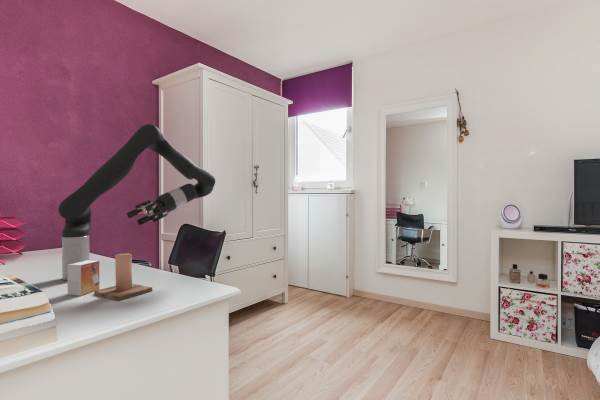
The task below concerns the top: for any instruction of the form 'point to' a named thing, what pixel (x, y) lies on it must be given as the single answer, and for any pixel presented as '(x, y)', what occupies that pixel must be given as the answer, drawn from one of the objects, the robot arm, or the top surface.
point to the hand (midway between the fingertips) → (132, 219)
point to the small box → (83, 277)
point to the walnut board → (122, 292)
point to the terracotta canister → (123, 272)
